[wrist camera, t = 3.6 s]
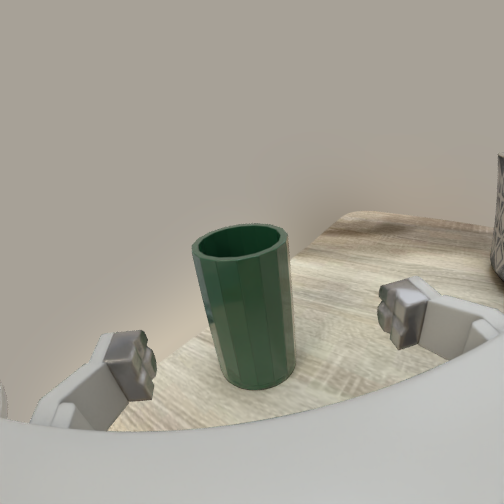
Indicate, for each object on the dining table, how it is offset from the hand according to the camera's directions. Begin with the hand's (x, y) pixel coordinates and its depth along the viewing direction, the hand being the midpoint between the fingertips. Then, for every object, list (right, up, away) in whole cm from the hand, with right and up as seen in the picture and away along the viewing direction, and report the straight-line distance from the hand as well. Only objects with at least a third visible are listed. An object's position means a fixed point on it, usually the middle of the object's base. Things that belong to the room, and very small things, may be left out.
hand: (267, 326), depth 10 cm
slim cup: (0, -8, +16) cm, 18 cm away
